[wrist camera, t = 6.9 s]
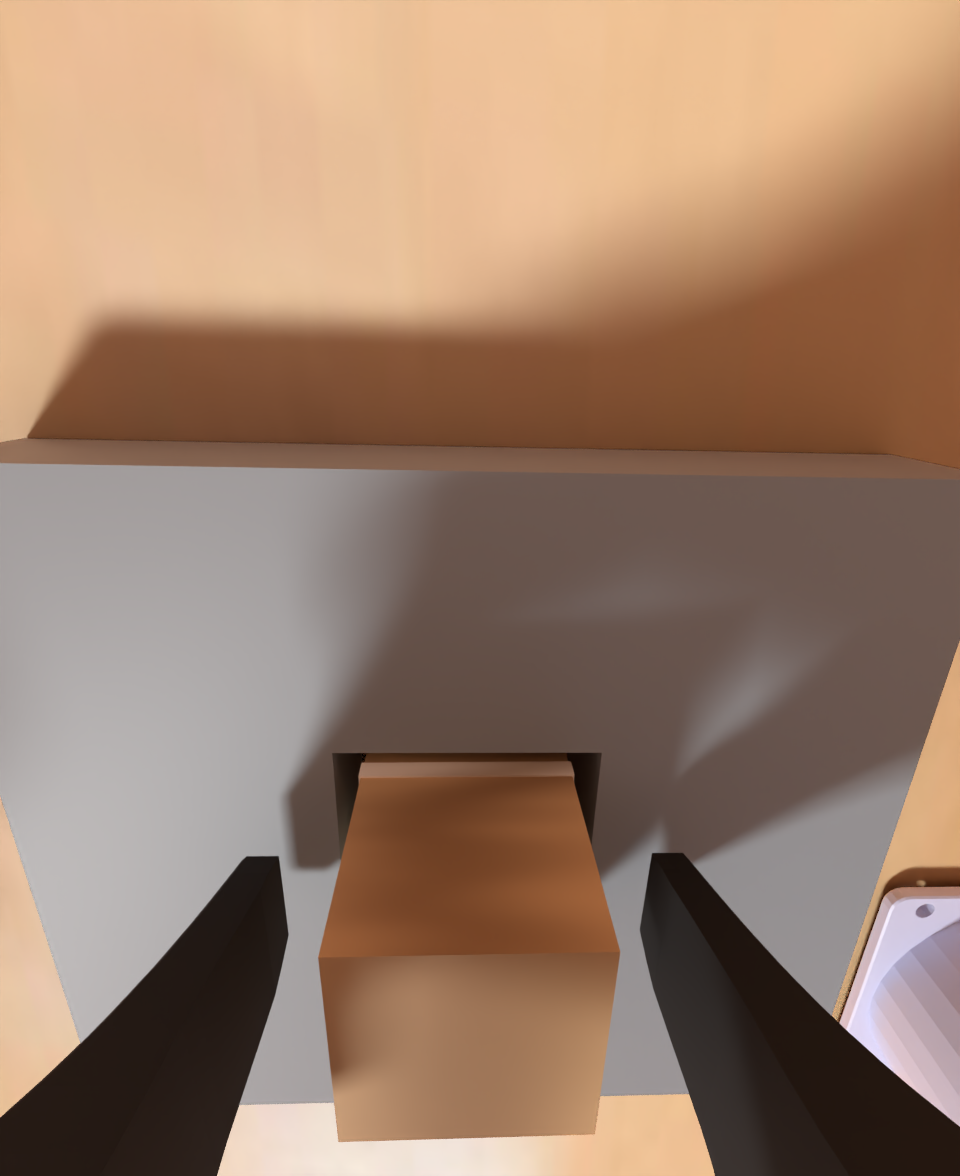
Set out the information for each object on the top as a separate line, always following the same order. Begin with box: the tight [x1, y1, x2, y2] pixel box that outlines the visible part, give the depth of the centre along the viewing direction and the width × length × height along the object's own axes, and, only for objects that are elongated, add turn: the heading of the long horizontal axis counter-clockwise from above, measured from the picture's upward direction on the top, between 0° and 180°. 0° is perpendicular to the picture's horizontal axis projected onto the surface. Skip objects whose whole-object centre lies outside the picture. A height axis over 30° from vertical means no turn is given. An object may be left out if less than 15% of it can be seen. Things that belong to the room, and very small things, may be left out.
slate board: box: [0, 438, 960, 1105], centre depth 14 cm, size 18×16×3 cm
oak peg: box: [318, 753, 620, 1142], centre depth 12 cm, size 4×4×7 cm
